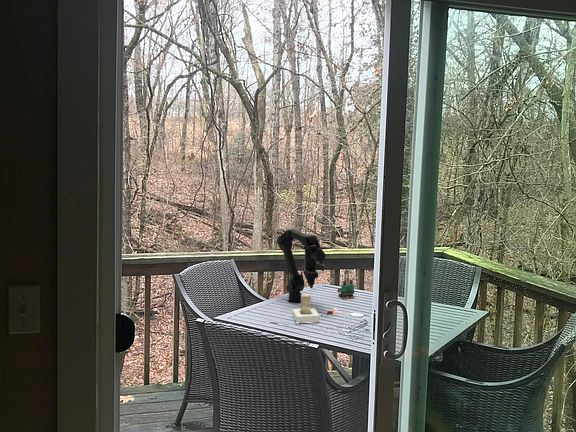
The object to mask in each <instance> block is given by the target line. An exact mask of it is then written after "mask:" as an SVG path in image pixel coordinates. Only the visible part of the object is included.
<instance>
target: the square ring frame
mask: <svg viewBox="0 0 576 432" xmlns="http://www.w3.org/2000/svg"><path fill="white" fill-rule="evenodd" d="M292 315H293V317H294V319H295V320H296V322H319V323H320V314H319V313H318V311H317V309H316V308H315V307H310V314H302V315H301V308H292V309H291V316H292ZM293 317H292V318H293ZM294 319H293V320H294ZM295 320H294V321H295ZM296 322H295V323H296Z"/></svg>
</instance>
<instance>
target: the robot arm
mask: <svg viewBox="0 0 576 432" xmlns="http://www.w3.org/2000/svg"><path fill="white" fill-rule="evenodd" d="M294 240H296V241H298V242H300V243H301V245H302V246H303V247H302V250H304V259H303V261H304V264H303V265H302V267H301V268H302V269H301V270H302V272H303V274H300V273H299V270H298V268H297V264H296V261H295V257H294V254H293V249H292V248H293V242H294ZM276 243H277V245H278V248H279V249H280V250H281V251H282V253H283V256H284V260H285V262H286V266H287V267H286V268H287V271H288V274H289V277H288V284H287V285H286V287H285V291H287V292H288V301H287V302H288V303H293V304H294V303H296V304H300V303H301V299H302V292H301V291H304V288H305V285H306V283H307V284H308V285H309V287H310V289H313V288H314V283H315V280H316V279H318V277H319V273H318V271H317V270H319V271H321V272H323V273H324V272H325V269H326V267H327V266H326V265H325V263H323V261H325V260H326V253H325V252H324V251H323V248H321V244H320V242H319V239H318V237H317V236H316V235H315V234H306V233H304V232H303V233H302V232H300V231H298V230H295V229H294V228H293V229H292V228H291V229H287V230H285V231H284V232H283V233H281V234H280V235H279V236H278V237H277V239H276ZM303 275H304V276H303ZM304 277H305V279H306V283H305V279H304Z"/></svg>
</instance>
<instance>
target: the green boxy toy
mask: <svg viewBox="0 0 576 432" xmlns="http://www.w3.org/2000/svg"><path fill="white" fill-rule="evenodd" d="M353 281H354V280H353V279H350V280H349V281H348V282H349V283H348V284H347V281H344V280H343V281H342V284H341V285H340V287H341V288H338V289H337V293H338V297H341V298H342V300H347V299H348V297H349V299H354V297H355V296H354V294H355V285H354V284H355V283H353Z"/></svg>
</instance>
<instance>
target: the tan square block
mask: <svg viewBox="0 0 576 432" xmlns="http://www.w3.org/2000/svg"><path fill="white" fill-rule="evenodd" d="M311 298H312V297H311V296H310V294H301V301H300V303H301V304H300V305H301V307H300V309H301V315H302V314H310V308H311V302H312V301H311Z"/></svg>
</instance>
